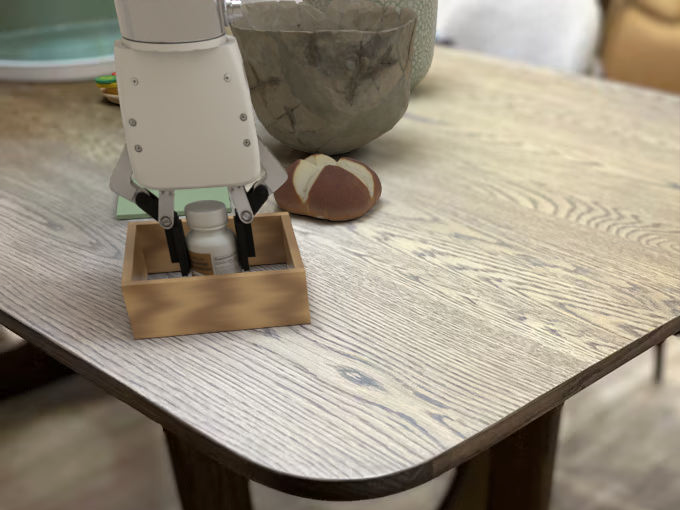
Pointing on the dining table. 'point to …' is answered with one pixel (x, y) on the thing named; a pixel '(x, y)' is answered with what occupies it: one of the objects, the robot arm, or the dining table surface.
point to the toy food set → (108, 87)
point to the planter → (424, 42)
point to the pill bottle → (210, 239)
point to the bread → (329, 188)
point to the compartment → (214, 284)
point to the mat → (180, 201)
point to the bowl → (327, 70)
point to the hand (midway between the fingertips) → (215, 265)
